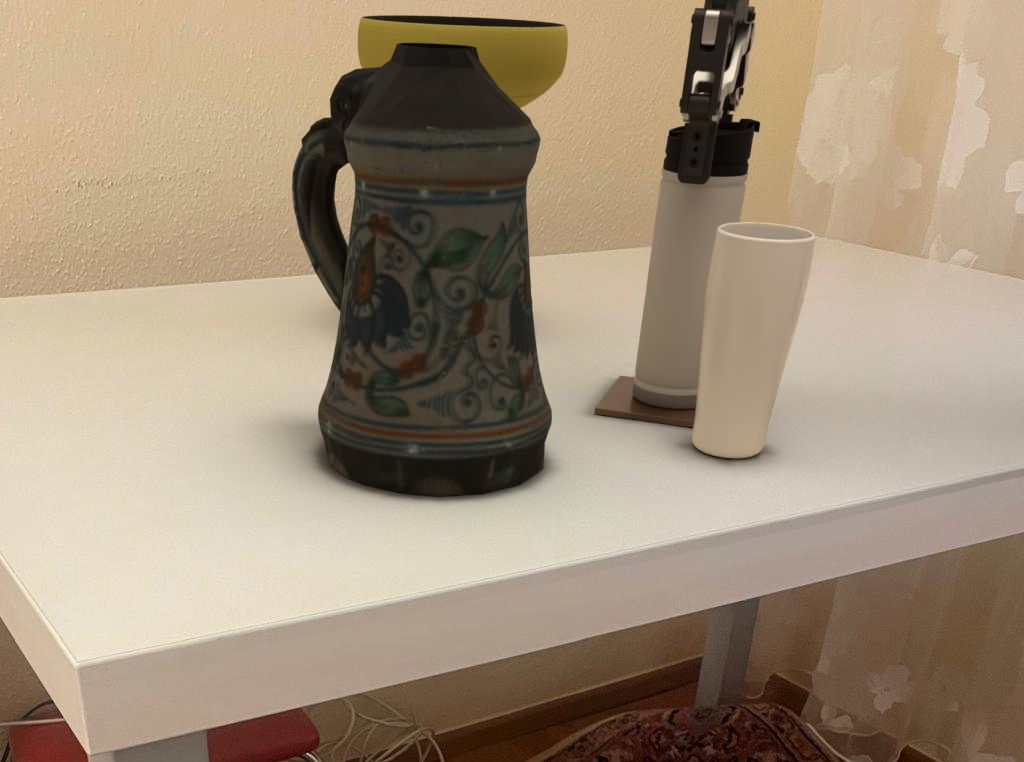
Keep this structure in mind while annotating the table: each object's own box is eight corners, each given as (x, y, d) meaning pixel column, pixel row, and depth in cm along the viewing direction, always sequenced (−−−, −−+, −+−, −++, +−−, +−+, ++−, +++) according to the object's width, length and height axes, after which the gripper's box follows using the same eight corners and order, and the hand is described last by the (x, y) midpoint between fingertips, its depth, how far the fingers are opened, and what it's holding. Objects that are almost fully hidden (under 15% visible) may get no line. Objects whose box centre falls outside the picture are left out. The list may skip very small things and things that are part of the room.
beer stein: (535, 509, 78) (576, 62, 64) (250, 481, 81) (226, 45, 66) (557, 430, 92) (594, 45, 77) (311, 408, 94) (303, 31, 80)
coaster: (736, 396, 101) (737, 390, 100) (720, 431, 93) (721, 424, 93) (619, 381, 103) (620, 375, 103) (594, 414, 95) (594, 407, 95)
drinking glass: (716, 428, 93) (753, 218, 85) (790, 452, 89) (837, 234, 81) (662, 445, 90) (695, 227, 81) (737, 471, 86) (780, 244, 77)
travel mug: (724, 409, 96) (775, 125, 84) (645, 411, 95) (686, 123, 83) (697, 386, 101) (741, 115, 89) (622, 387, 100) (657, 113, 88)
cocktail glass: (401, 358, 107) (408, 25, 92) (330, 310, 120) (327, 13, 105) (577, 342, 113) (609, 28, 98) (491, 299, 126) (508, 17, 112)
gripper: (790, -103, 72) (741, 194, 82) (809, -92, 83) (763, 168, 93) (667, -106, 74) (632, 184, 84) (701, -95, 85) (667, 160, 95)
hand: (701, 175), depth 88 cm, fingers open, 8 cm apart
